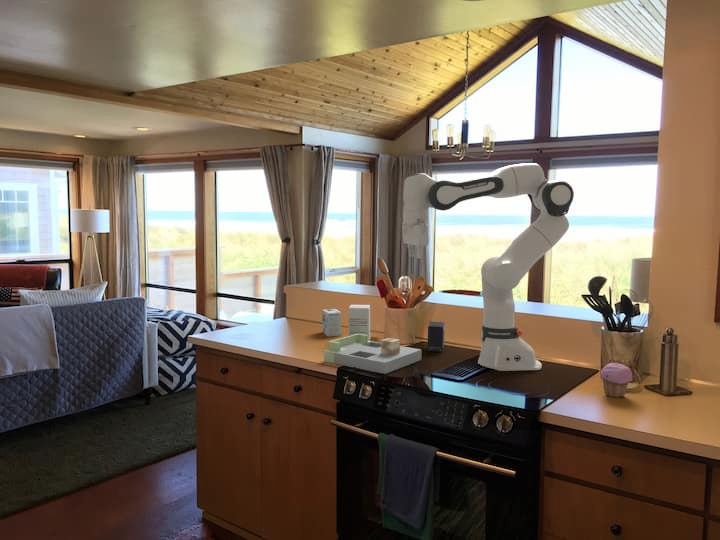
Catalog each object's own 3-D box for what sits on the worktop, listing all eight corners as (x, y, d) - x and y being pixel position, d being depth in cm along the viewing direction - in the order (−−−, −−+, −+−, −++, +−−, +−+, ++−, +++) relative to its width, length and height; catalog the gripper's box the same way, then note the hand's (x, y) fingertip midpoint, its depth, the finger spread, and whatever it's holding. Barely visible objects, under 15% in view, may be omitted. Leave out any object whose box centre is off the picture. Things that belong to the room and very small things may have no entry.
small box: (443, 352, 229) (443, 326, 227) (426, 351, 230) (427, 325, 229) (444, 346, 239) (445, 321, 238) (429, 345, 240) (429, 320, 239)
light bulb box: (322, 332, 267) (321, 309, 266) (335, 331, 269) (335, 308, 268) (327, 336, 257) (327, 313, 256) (342, 335, 259) (342, 312, 258)
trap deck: (421, 359, 216) (421, 341, 216) (385, 374, 197) (385, 354, 197) (362, 349, 233) (362, 332, 232) (323, 361, 214) (323, 342, 214)
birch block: (399, 353, 210) (400, 339, 210) (392, 355, 207) (392, 342, 206) (388, 351, 213) (388, 337, 213) (380, 353, 210) (380, 340, 209)
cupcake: (609, 389, 180) (611, 358, 179) (636, 396, 173) (638, 364, 172) (594, 394, 175) (595, 362, 174) (621, 402, 168) (622, 369, 167)
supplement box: (350, 337, 256) (350, 304, 254) (370, 337, 255) (370, 304, 253) (348, 341, 247) (348, 307, 245) (368, 342, 246) (368, 307, 244)
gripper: (433, 219, 196) (432, 259, 197) (415, 218, 216) (415, 255, 217) (415, 219, 195) (415, 259, 196) (399, 218, 215) (399, 255, 216)
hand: (415, 257), depth 207 cm, fingers open, 8 cm apart
